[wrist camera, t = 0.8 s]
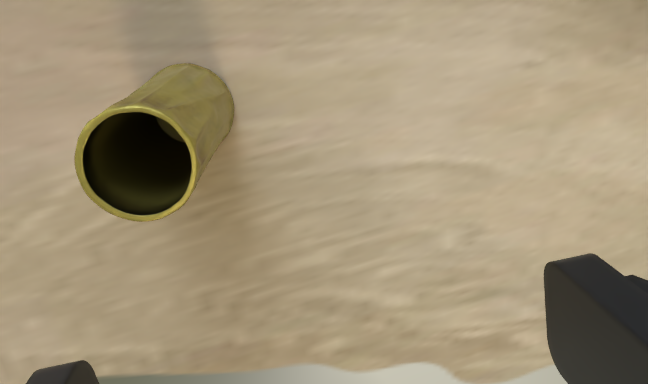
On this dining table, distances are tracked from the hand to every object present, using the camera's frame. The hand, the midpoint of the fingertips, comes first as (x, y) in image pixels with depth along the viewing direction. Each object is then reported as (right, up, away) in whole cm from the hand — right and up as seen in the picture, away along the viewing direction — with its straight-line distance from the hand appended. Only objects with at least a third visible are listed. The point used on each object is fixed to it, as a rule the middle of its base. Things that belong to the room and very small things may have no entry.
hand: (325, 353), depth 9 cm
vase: (-9, +8, +27) cm, 30 cm away
